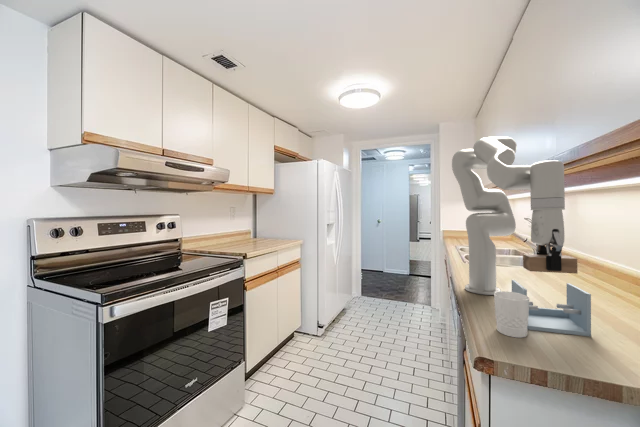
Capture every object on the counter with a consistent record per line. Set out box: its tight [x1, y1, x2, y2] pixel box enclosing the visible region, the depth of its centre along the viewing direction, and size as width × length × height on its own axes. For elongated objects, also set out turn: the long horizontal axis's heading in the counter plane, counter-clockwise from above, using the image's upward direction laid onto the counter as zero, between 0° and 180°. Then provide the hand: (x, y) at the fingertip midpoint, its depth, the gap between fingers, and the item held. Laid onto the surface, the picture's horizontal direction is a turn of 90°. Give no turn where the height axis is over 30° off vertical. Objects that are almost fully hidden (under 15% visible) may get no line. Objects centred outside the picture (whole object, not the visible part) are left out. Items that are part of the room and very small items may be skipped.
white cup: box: [493, 290, 530, 339], centre depth 75 cm, size 8×8×10 cm
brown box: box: [522, 253, 578, 275], centre depth 79 cm, size 6×10×4 cm, turn 69°
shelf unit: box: [511, 279, 592, 337], centre depth 79 cm, size 11×15×11 cm
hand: (548, 267), depth 79 cm, fingers closed on brown box, 6 cm apart
